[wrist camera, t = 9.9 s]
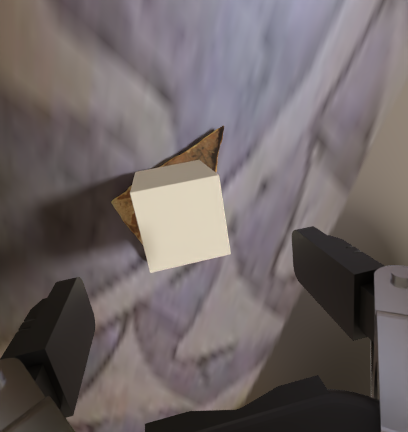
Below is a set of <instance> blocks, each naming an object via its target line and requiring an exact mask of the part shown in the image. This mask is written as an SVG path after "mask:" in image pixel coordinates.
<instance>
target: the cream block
mask: <svg viewBox="0 0 408 432" xmlns="http://www.w3.org/2000/svg"><path fill="white" fill-rule="evenodd" d="M130 195H131V199H132V203H133V207H134V211H135V214H136V218H137V222H138V226H139V230H140V234H141V238H142V242H143V246H144V250H145V254H146V258H147V262H148V266H149V269H150V273H152V272H156V271H160V270H165V269H169V268H173V267H177V266H182V265H186V264H190V263H195V262H199V261H203V260H208V259H212V258H216V257H220V256H225V255H229V254H231V253H230V246H229V239H228V232H227V226H226V219H225V212H224V206H223V199H222V192H221V185H220V179H219V175H218V174H217V173H216V172H214V171H213V170H212V169H210V168H209V167H208V166H207V165H205V164H204V163H203V162H201V161H200V160H195V161H190V162H185V163H180V164H174V165H169V166H164V167H159V168H154V169H148V170H143V171H138V172H135V175H134V179H133V183H132V187H131V191H130Z"/></svg>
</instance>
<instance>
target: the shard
mask: <svg viewBox="0 0 408 432" xmlns="http://www.w3.org/2000/svg"><path fill="white" fill-rule="evenodd" d="M223 131H224V126H222V127H220V128H218V129H216V130H215V131H214V132H212V133H211V134H209V135H208V136H207V137H205V138H203V139H202V140H201V141H200V142H199V143H198V144H196V145H194V146H193V147H191V148H190V149H189V150H187V151H186V152H184V153H182V154H181V155H178V156H176V157H174V158H172V159H171V160H169V161H168V162H166V163H165V164H164V165H162V166H161V167H164V166H169V165H174V164H180V163H185V162H190V161H195V160H200V161H201V162H203V163H204V164H205V165H207V166H208V167H209V168H210V169H212V170H213V171H214V172H216V171H217V157H218V152H219V148H220V144H221V142H222V139H223ZM158 168H159V167H158ZM131 187H132V185H131V186H130V187H129V188H128V189H127V191H126V192H124V193H123V194H121V195H120V196H118V197H116V198H115V199H113V200H112V201H111V203H112V204H113V206H114V208H115V209H116V211H117V212H118V213H119V215H120V216H121V218H122V220H123V221H124V223H125V224H126V225H127V226H128V227H129V229H130V230H131V231H132V232H133V234H135V235H136V236H137V238H138V240H139V241H140V242H141V243H142V244H143V242H142V238H141V234H140V230H139V226H138V222H137V218H136V214H135V211H134V207H133V203H132V199H131V195H130V191H131Z"/></svg>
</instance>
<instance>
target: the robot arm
mask: <svg viewBox="0 0 408 432" xmlns="http://www.w3.org/2000/svg"><path fill="white" fill-rule="evenodd" d="M292 249H293V266H294V272H295V275H296V277H297V279H298V281H299V282H300V283H301V285H302V286H303V287H304V288H305V289H306V290H307V291H308V292H309V293H310V294H311V295H312V296H313V298H314V299H315V300H316V301H317V302H318V303H319V304H320V305H321V306H322V307H323V308H324V310H325V311H326V312H327V313H328V314H329V315H330V316H331V317H332V318H333V319H334V321H335V322H336V323H337V324H338V325H339V326H340V327H341V328H342V329H343V330H344V331H345V333H346V334H347V335H348V336H349V337H350V338H351V339H352V340H353V341H354V340H358V339H362V338H365V337H369V338H370V339H371V397H369V396H365V395H362V394H358V393H355V392H350V391H345V390H335V389H334V390H333V389H327V388H326V387H325V385H324V384H323V382H322V381H321V379H320V378H319V376H318V375H317V376H313V377H310V378H306V379H303V380H299V381H295V382H292V383H288V384H285V385H281V386H278V387H276V388H274V389H273V390H271V391H269V392H268V393H266V394H264V395H263V396H261V397H259V398H257V399H256V400H254V401H252V402H251V403H249V404H247V405H245V406H244V407H242V408H240V409H237V410H216V411H189V412H185V413H182V414H178V415H175V416H171V417H168V418H164V419H160V420H157V421H153V422H150V423H146V424H145V432H408V267H407V266H400V265H390V266H384V265H382V264H381V263H379V262H378V261H376V260H374V259H373V258H371V257H370V256H368V255H366V254H365V253H363V252H360V250H358V249H357V248H355V247H352V245H351V244H349V243H347V242H346V241H344V240H342V239H339V238H336V237H333V236H330V235H328V236H327V235H326V234H324V233H323V232H321V231H320V230H318V229H317V228H315V227H313V226H312V227H307V228H303V229H298V230H294V231H293V233H292ZM94 332H95V318H94V313H93V310H92V307H91V304H90V301H89V298H88V295H87V292H86V289H85V287H84V284H83V281H82V279H81V278H80V277H77V278H72V279H68V280H63V281H59V282H56V283H55V285H54V287H53V289H52V291H51V292H50V294H49V296H48V298H45V299H42V300H41V301H40V302H39V303H38V304H37V305H35V306H34V307H33V308H32V309H31V310H30V312H29V313H28V315H27V317H26V318H25V320H24V322H23V323H22V325H21V326H20V328H19V332H17V333H16V334H15V336H14V338H13V339H12V341H11V343H10V344H9V346H8V347H7V349H6V351H5V352H4V354H3V356H2V357H1V359H0V432H75V431H74V429H73V428H72V427H71V425H70V424H69V422H68V421H67V419H66V417H69V416H73V414H74V410H75V406H76V402H77V399H78V395H79V391H80V387H81V383H82V379H83V375H84V371H85V367H86V363H87V359H88V355H89V351H90V347H91V344H92V340H93V336H94Z"/></svg>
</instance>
